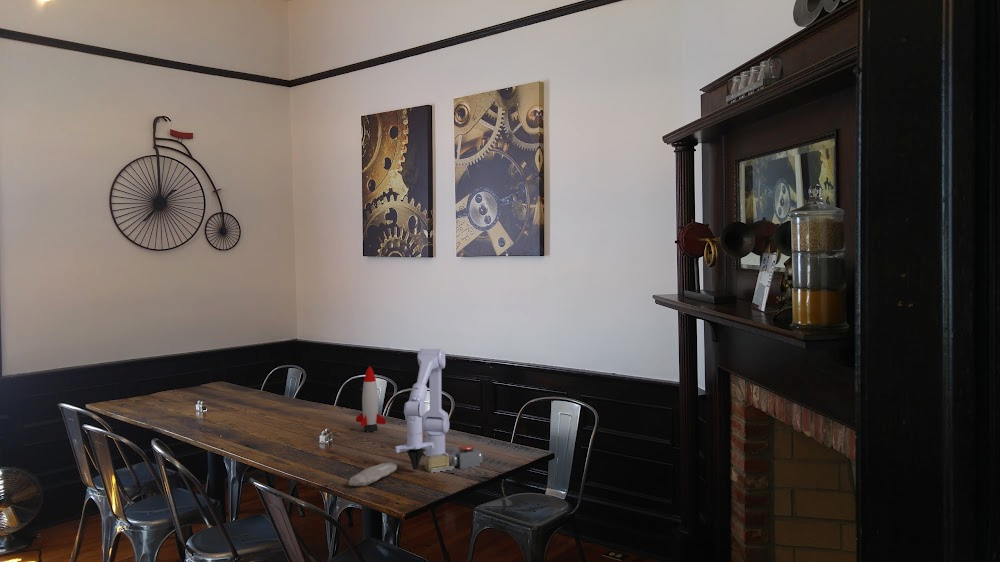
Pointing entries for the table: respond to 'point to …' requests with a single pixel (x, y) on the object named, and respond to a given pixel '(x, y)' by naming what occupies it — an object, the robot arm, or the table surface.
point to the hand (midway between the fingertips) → (415, 469)
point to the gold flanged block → (436, 461)
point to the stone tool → (372, 474)
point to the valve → (463, 458)
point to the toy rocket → (370, 404)
